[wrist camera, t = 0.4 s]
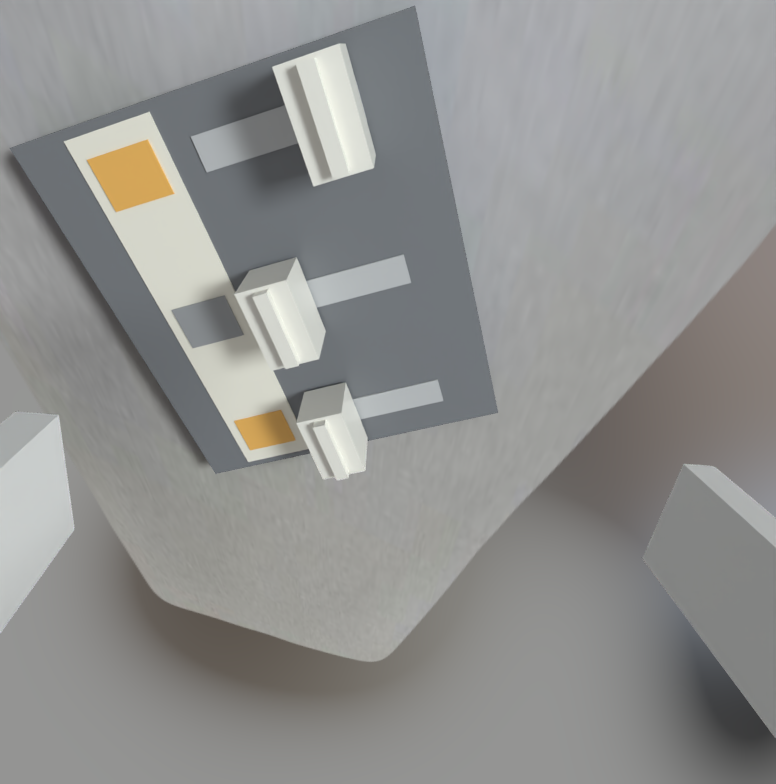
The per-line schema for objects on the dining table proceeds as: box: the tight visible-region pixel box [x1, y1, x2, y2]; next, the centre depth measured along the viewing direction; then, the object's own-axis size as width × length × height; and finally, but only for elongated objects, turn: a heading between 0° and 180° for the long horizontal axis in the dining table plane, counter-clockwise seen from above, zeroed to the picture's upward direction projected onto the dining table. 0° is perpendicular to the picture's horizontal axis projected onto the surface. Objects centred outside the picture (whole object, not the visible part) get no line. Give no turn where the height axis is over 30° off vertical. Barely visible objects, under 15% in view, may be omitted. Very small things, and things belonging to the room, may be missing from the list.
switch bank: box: [10, 6, 498, 474], centre depth 33 cm, size 22×24×2 cm
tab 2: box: [234, 257, 326, 371], centre depth 30 cm, size 3×5×4 cm, turn 16°
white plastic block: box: [296, 382, 368, 480], centre depth 35 cm, size 3×5×4 cm, turn 16°
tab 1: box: [272, 43, 376, 187], centre depth 24 cm, size 3×5×4 cm, turn 16°
